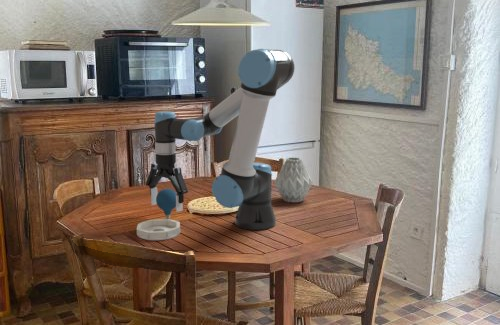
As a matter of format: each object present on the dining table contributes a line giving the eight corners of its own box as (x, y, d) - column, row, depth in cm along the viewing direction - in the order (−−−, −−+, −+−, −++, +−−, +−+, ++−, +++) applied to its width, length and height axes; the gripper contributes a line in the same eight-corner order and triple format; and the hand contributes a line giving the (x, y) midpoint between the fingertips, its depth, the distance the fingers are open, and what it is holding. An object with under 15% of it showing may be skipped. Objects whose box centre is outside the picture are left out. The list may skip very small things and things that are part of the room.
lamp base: (189, 231, 181) (188, 224, 180) (157, 243, 169) (157, 235, 168) (159, 223, 190) (159, 216, 189) (128, 234, 178) (127, 226, 177)
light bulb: (157, 223, 190) (156, 192, 187) (155, 217, 198) (154, 187, 195) (180, 221, 192) (179, 190, 190) (177, 215, 200) (176, 185, 198)
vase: (271, 204, 215) (271, 161, 212) (278, 194, 231) (279, 154, 227) (309, 206, 212) (310, 163, 208) (314, 196, 227) (315, 156, 224)
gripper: (197, 155, 185) (197, 211, 190) (150, 147, 200) (151, 199, 204) (182, 158, 179) (183, 216, 184) (135, 150, 194) (137, 203, 198)
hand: (166, 207), depth 194 cm, fingers open, 13 cm apart
